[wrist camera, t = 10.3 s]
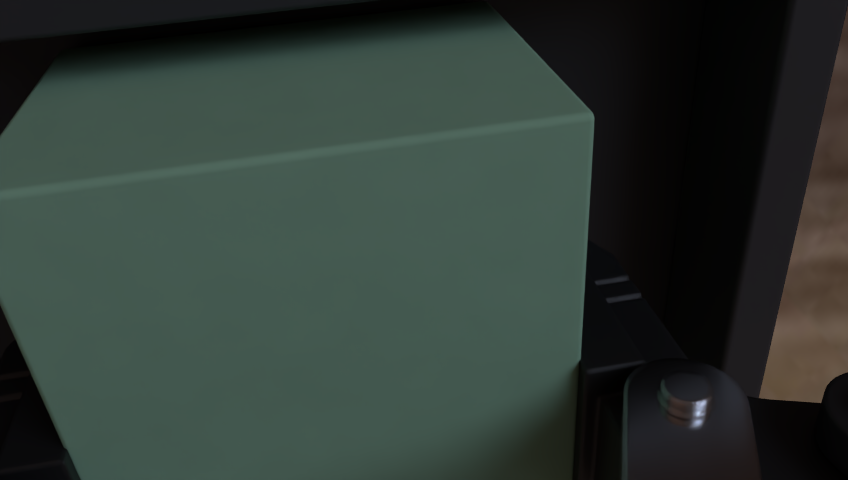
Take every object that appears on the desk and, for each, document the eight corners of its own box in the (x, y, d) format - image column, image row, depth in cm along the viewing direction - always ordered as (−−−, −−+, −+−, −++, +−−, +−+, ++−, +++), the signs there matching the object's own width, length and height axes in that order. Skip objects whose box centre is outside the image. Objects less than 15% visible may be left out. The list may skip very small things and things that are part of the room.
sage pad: (199, 482, 14) (179, 711, 11) (58, 48, 10) (-53, 200, 6) (496, 429, 14) (567, 629, 11) (488, -1, 10) (599, 113, 7)
